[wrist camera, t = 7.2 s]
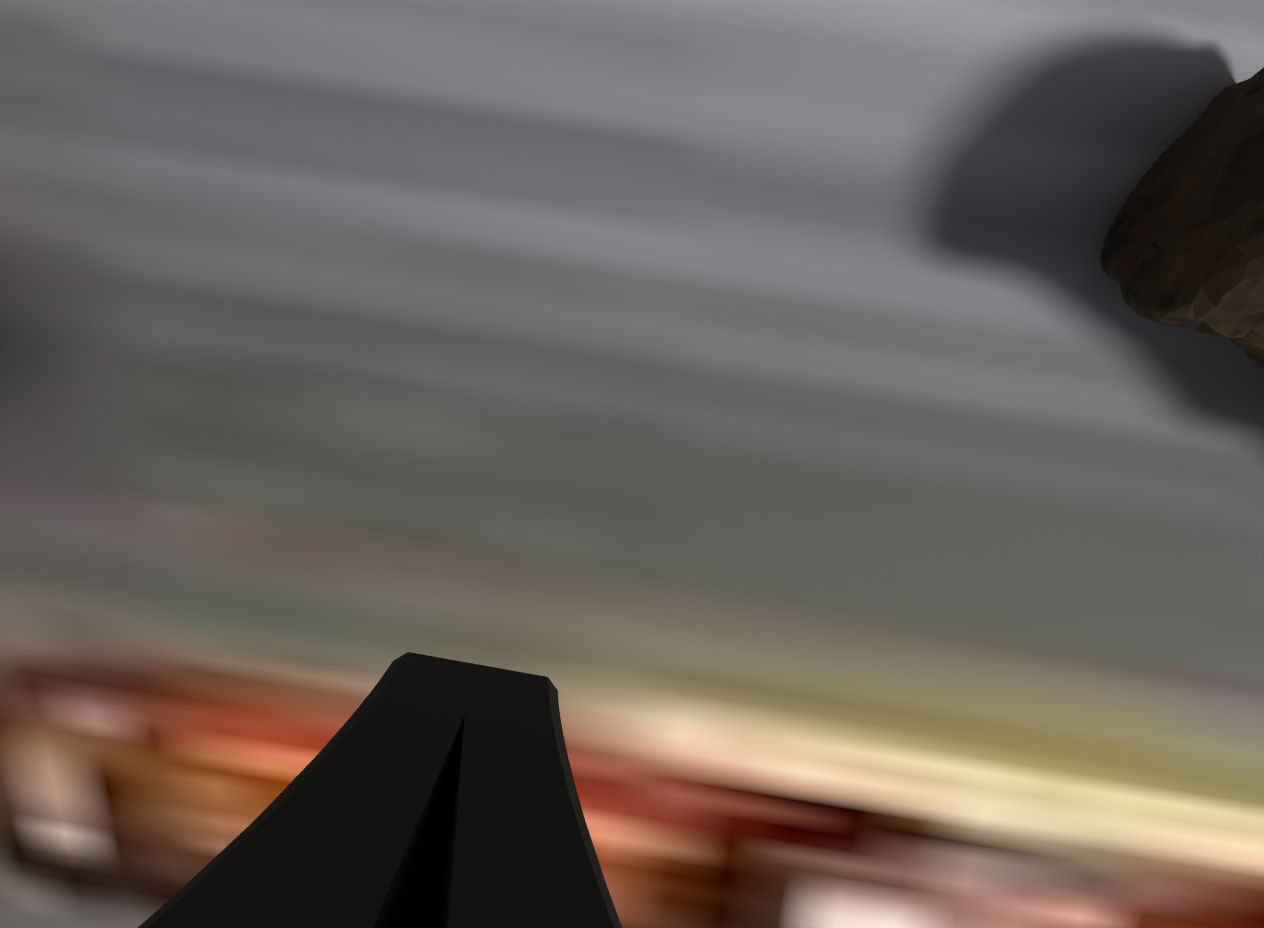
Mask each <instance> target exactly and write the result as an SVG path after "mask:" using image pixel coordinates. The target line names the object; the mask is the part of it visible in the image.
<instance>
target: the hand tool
mask: <svg viewBox="0 0 1264 928" xmlns="http://www.w3.org/2000/svg"><path fill="white" fill-rule="evenodd" d="M1101 263H1102V268H1103V270H1104V272H1105V273H1106V275H1107V276H1108V278H1110V279H1113V280H1116V281H1119V283H1120V287H1121V291H1122V296H1123V299H1124V300H1125V302H1126V304H1127V305H1129V306H1130V307H1131V308H1132V309H1133V310H1134V311H1135V312H1137V313H1138V314H1139V315H1140V316H1142V317H1145V318H1148V319H1151V320H1154V321H1157V322H1160V323H1163V324H1168V325H1174V326H1181V327H1187V328H1192V329H1193V330H1195V331H1197V332H1201V333H1207V334H1213V335H1220V336H1225V337H1227V338H1229V339H1230V340H1232V341H1233V342H1234V343H1236V344H1237V345H1238V346H1240V347H1241V348H1242V349H1243V350H1245V352H1246V354H1247V355H1248V357H1249V358H1250V359H1252V360H1253V361H1254V362H1256V363H1257V364H1258V365H1260V366H1261V367H1262V368H1264V68H1262V69H1261V70H1260V71H1259V72H1258V73H1256V74H1255V75H1254V76H1253V77H1251V78H1250V79H1248V80H1245V81H1242V82H1240V83H1237V84H1234V85H1232V86H1229V87H1226V88H1225V89H1224V90H1223V91H1222V92H1221V93H1220V94H1219V95H1218V96H1217V97H1215V98H1214V99H1213V101H1212V102H1211V103H1210V104H1209V106H1208V107H1207V109H1206V110H1205V111H1204V113H1203V114H1202V115H1201V117H1200V118H1199V119H1198V120H1197V121H1196V122H1195V123H1194V124H1193V125H1192V126H1191V127H1190V128H1189V129H1188V131H1187V132H1186V133H1185V134H1184V135H1183V136H1181V137H1180V138H1179V139H1178V140H1176V141H1175V142H1174V143H1173V144H1172V145H1171V146H1170V147H1169V148H1168V149H1167V150H1166V151H1165V152H1164V153H1163V154H1162V155H1161V156H1160V157H1159V158H1158V159H1157V161H1156V162H1155V163H1154V164H1153V166H1152V167H1151V168H1150V170H1149V171H1148V172H1147V174H1146V175H1145V176H1144V177H1143V179H1142V180H1141V181H1140V183H1139V184H1138V185H1137V187H1136V188H1135V189H1134V191H1133V192H1132V193H1131V195H1130V196H1129V198H1128V199H1127V200H1126V202H1125V204H1124V207H1123V209H1122V211H1121V213H1120V214H1119V216H1118V217H1117V219H1116V220H1115V222H1114V223H1113V225H1112V226H1111V228H1110V229H1109V232H1108V235H1107V238H1106V240H1105V243H1104V247H1103V250H1102V254H1101Z"/></svg>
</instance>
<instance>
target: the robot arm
mask: <svg viewBox="0 0 1264 928" xmlns="http://www.w3.org/2000/svg"><path fill="white" fill-rule="evenodd" d="M138 928H622V926H621V923H620V921H619V918H618V915H617V913H616V910H615V907H614V904H613V902H612V899H611V896H610V894H609V891H608V888H607V885H606V882H605V879H604V876H603V873H602V870H601V867H600V864H599V861H598V858H597V855H596V852H595V849H594V846H593V843H592V840H591V837H590V834H589V831H588V828H587V825H586V822H585V819H584V815H583V812H582V808H581V805H580V801H579V798H578V794H577V791H576V787H575V783H574V779H573V775H572V771H571V767H570V763H569V759H568V755H567V750H566V746H565V741H564V736H563V731H562V725H561V719H560V712H559V704H558V690H557V689H556V688H555V686H554V685H553V683H552V682H551V681H550V679H549V678H548V677H545V676H539V675H533V674H528V673H522V672H517V671H511V670H505V669H500V668H494V667H489V666H483V665H477V664H472V663H466V662H461V661H455V660H449V659H444V658H438V657H433V656H427V655H421V654H416V653H410V652H408V653H406V654H404V655H402V656H401V657H399V658H397V659H395V660H394V661H393V662H392V663H391V665H390V666H389V668H388V669H387V671H386V672H385V674H384V675H383V677H382V678H381V679H380V681H379V682H378V683H377V685H376V686H375V687H374V689H373V690H372V691H371V693H370V694H369V695H368V696H367V698H366V699H365V700H364V701H363V703H362V704H361V705H360V706H359V708H358V709H357V710H356V711H355V712H354V714H353V715H352V716H351V717H350V718H349V720H348V721H347V722H346V723H345V724H344V725H343V726H342V728H341V729H340V730H339V731H338V732H337V733H336V735H335V736H334V737H333V738H332V739H331V740H330V741H329V743H328V744H327V745H326V746H325V747H324V748H323V749H322V750H321V752H320V753H319V754H318V755H317V756H316V757H315V758H314V759H313V760H312V761H311V762H310V763H309V764H308V765H307V766H306V767H305V768H304V770H303V771H302V772H301V773H300V774H299V775H298V776H297V777H296V778H295V779H294V780H293V781H292V782H291V783H290V784H289V785H288V786H287V787H286V788H285V790H284V791H283V792H282V793H281V794H280V795H279V796H278V797H277V798H276V799H275V800H274V801H273V802H272V803H271V804H270V805H269V806H268V807H267V808H266V809H265V810H264V811H263V812H262V813H261V814H260V815H259V816H258V817H257V818H256V819H255V820H254V821H253V822H252V823H251V824H250V825H249V826H248V827H247V828H246V829H245V830H244V831H243V832H242V833H241V834H240V835H239V836H238V837H237V838H236V839H234V840H233V841H232V842H231V843H230V844H229V845H228V846H227V847H226V848H225V849H224V850H223V851H222V852H221V853H219V854H218V855H217V856H216V857H215V858H214V859H213V860H212V861H211V862H210V863H209V864H208V865H207V866H206V867H204V868H203V869H202V870H201V871H200V872H199V873H198V874H197V875H196V876H195V877H194V878H193V879H192V880H191V881H190V882H188V883H187V884H186V885H185V886H184V887H183V888H182V889H181V890H180V891H179V892H178V893H177V894H176V895H175V896H173V897H172V898H171V899H170V900H169V901H168V902H167V903H166V904H164V905H163V906H162V907H161V908H160V909H159V910H158V911H156V912H155V913H154V914H153V915H152V916H151V917H150V918H148V919H147V920H146V921H145V922H144V923H143V924H141V925H140V926H139V927H138Z"/></svg>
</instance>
